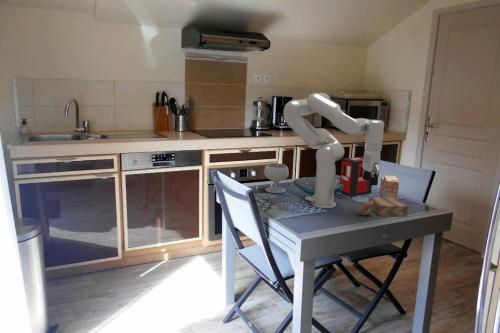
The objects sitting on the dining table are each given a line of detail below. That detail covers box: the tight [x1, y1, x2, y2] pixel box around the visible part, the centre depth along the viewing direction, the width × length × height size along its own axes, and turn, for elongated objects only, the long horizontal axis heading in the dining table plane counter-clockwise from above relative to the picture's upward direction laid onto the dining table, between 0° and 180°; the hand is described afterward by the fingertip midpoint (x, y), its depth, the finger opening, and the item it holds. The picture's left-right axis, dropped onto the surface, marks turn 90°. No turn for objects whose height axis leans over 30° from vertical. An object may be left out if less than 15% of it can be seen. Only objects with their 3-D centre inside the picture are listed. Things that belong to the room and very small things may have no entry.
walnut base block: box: [368, 196, 409, 217], centre depth 191 cm, size 14×14×5 cm
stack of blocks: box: [379, 175, 400, 199], centre depth 213 cm, size 21×6×12 cm, turn 169°
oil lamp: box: [357, 199, 375, 216], centre depth 184 cm, size 9×4×8 cm, turn 106°
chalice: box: [263, 162, 290, 194], centre depth 218 cm, size 14×14×15 cm
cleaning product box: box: [338, 156, 373, 198], centre depth 219 cm, size 16×9×20 cm, turn 120°
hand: (370, 182), depth 181 cm, fingers open, 9 cm apart
